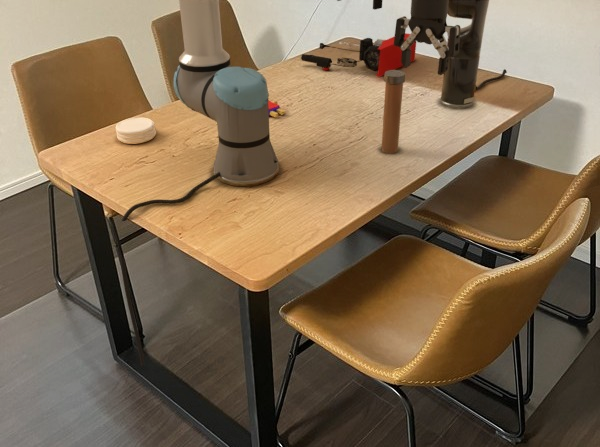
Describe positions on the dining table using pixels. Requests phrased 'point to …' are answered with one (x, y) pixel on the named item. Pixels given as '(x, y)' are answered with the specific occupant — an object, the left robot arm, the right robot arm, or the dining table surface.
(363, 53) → the electric hoist
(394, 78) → the lid
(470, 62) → the right robot arm
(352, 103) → the dining table surface
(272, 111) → the toy figure
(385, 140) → the brown capped cylinder
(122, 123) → the coaster
